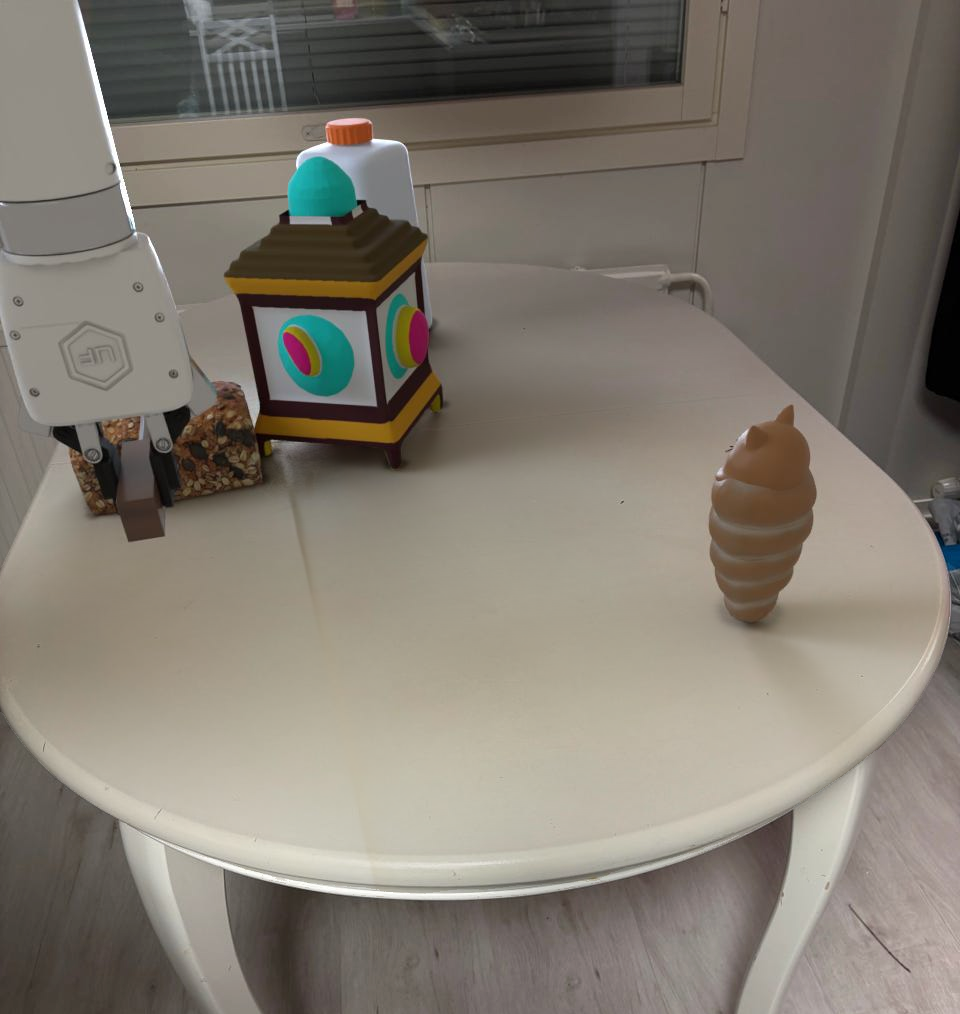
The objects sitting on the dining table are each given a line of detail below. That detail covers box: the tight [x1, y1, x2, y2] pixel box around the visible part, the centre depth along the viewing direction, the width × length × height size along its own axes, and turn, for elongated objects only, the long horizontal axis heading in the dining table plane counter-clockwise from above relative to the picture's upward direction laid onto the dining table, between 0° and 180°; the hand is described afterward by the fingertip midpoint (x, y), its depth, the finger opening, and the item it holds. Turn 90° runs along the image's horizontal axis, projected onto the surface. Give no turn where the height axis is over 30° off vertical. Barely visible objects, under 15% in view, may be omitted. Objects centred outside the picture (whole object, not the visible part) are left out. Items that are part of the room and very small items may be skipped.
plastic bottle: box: [295, 117, 433, 329], centre depth 132 cm, size 15×15×28 cm
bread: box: [68, 380, 264, 517], centre depth 102 cm, size 19×11×10 cm, turn 108°
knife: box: [116, 415, 167, 543], centre depth 70 cm, size 20×2×3 cm, turn 14°
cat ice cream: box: [708, 404, 818, 623], centre depth 75 cm, size 9×8×18 cm
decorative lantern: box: [223, 156, 444, 471], centre depth 105 cm, size 20×20×30 cm
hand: (146, 500), depth 66 cm, fingers closed on knife, 2 cm apart
